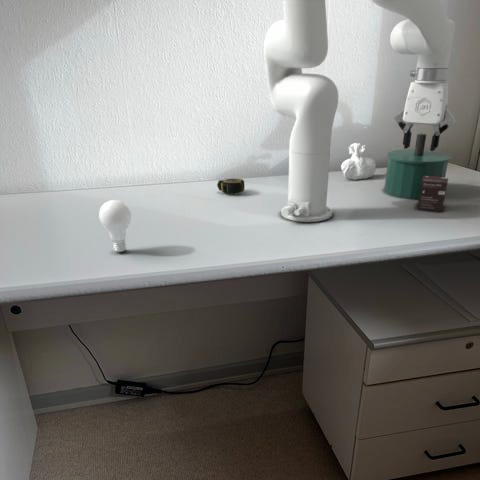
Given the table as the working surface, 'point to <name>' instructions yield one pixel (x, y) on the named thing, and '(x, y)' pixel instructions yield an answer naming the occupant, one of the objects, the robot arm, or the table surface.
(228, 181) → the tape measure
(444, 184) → the box
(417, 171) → the pot
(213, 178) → the table surface
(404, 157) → the lid
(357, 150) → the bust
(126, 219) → the lightbulb
